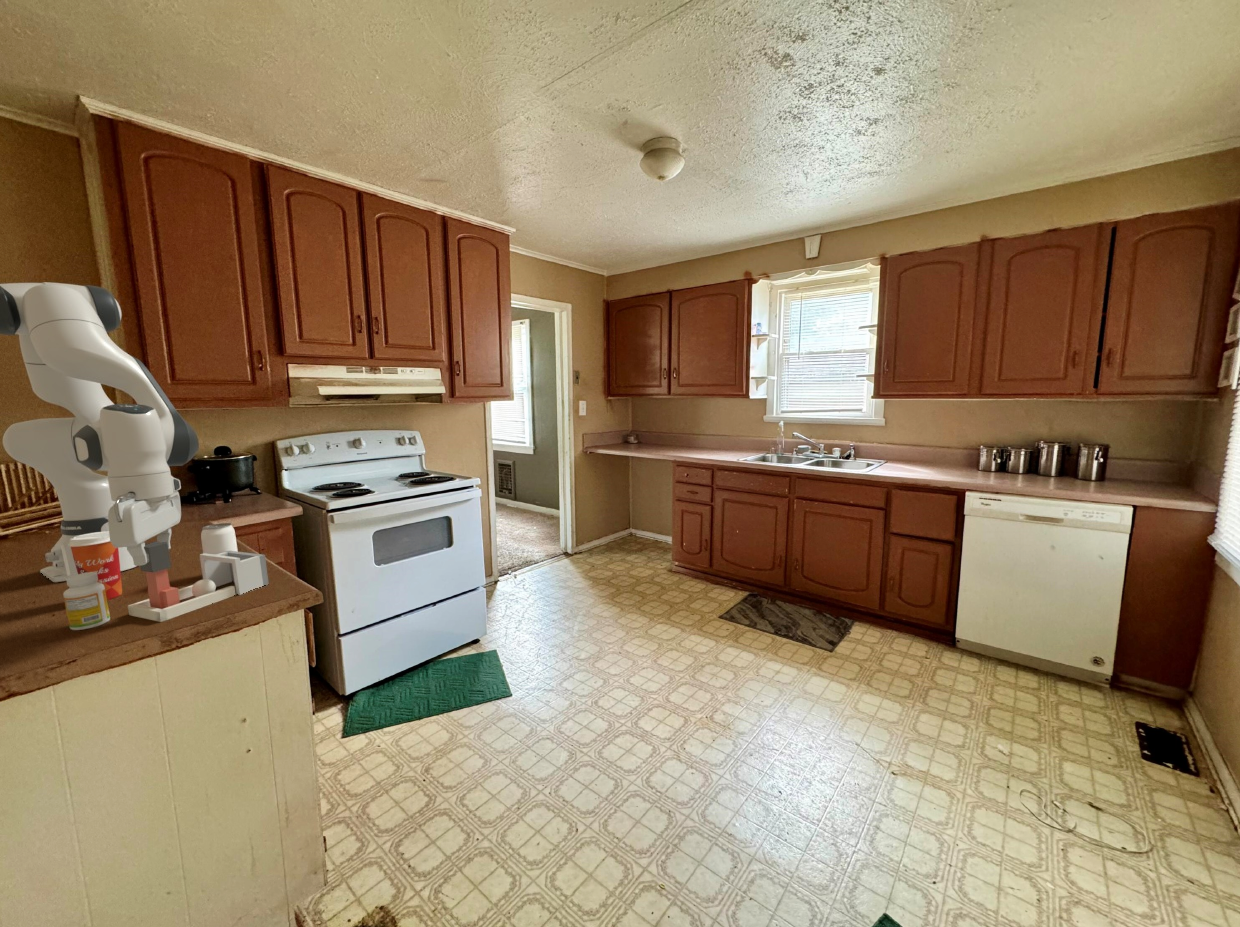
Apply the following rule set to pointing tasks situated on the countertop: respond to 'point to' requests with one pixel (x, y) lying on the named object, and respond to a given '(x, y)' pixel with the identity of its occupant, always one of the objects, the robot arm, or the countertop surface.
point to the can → (218, 538)
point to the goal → (235, 569)
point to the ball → (203, 587)
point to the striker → (159, 576)
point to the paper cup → (98, 560)
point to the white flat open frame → (156, 614)
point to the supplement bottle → (85, 601)
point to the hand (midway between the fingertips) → (153, 557)
